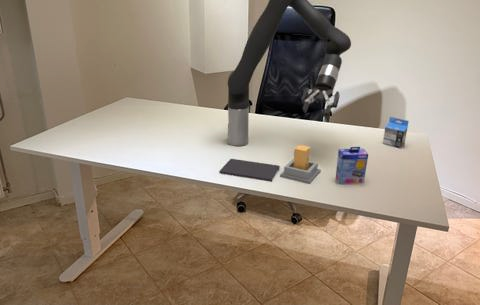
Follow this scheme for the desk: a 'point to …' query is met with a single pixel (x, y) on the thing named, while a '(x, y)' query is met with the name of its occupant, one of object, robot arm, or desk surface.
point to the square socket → (301, 172)
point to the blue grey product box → (395, 133)
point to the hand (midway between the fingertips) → (314, 113)
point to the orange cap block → (301, 157)
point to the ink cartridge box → (351, 165)
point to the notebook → (250, 169)
